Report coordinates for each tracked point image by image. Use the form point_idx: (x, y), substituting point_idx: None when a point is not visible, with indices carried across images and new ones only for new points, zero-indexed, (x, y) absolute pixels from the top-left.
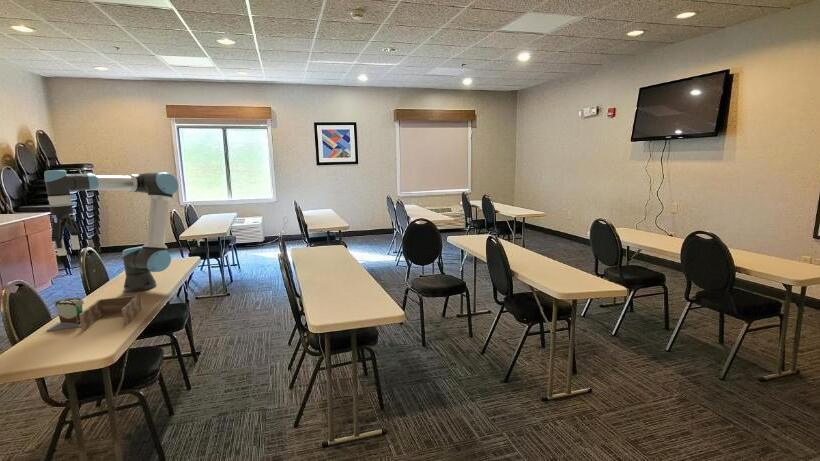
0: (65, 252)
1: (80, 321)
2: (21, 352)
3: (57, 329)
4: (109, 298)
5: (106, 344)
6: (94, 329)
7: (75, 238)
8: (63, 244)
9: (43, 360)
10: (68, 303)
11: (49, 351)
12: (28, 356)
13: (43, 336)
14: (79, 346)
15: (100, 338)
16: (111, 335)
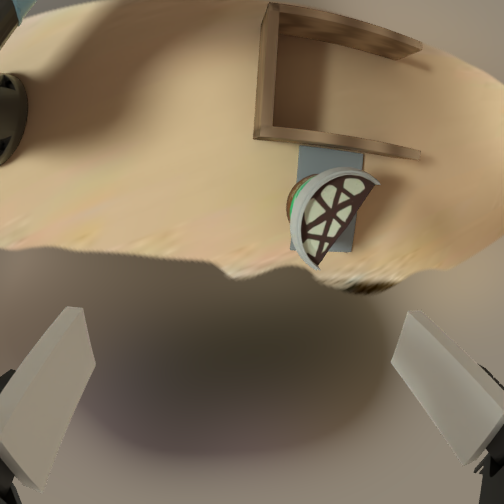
0: (427, 323)
1: (406, 158)
2: (452, 247)
3: (354, 225)
4: (264, 96)
5: (483, 97)
6: (398, 127)
7: (29, 421)
8: (487, 375)
9: (499, 192)
10: (355, 213)
11: (473, 194)
12: (475, 225)
13: (385, 242)
14: (476, 143)
15: (456, 108)
16: (449, 87)
